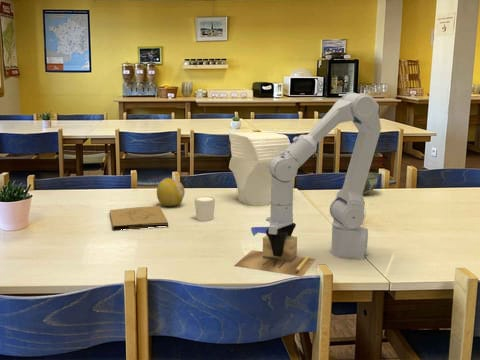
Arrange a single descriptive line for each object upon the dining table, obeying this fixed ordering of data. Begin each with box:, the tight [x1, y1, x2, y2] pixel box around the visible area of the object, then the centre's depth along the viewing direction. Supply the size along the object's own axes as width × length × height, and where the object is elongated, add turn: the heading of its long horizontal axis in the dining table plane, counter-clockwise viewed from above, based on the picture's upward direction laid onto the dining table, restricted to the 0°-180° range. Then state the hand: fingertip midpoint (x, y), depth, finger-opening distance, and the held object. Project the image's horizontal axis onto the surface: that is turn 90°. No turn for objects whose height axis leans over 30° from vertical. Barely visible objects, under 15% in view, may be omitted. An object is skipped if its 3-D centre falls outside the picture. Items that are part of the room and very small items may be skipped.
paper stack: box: [228, 131, 292, 206], centre depth 206 cm, size 21×27×26 cm
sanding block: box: [262, 234, 298, 262], centre depth 144 cm, size 8×4×6 cm, turn 68°
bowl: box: [344, 171, 380, 196], centre depth 221 cm, size 14×13×8 cm
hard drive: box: [250, 226, 269, 237], centre depth 167 cm, size 2×8×12 cm
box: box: [109, 205, 169, 232], centre depth 183 cm, size 21×18×2 cm
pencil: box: [295, 255, 311, 273], centre depth 139 cm, size 11×1×1 cm, turn 158°
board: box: [233, 249, 317, 277], centre depth 142 cm, size 18×13×1 cm
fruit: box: [156, 177, 185, 207], centre depth 201 cm, size 10×11×10 cm
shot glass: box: [194, 196, 216, 222], centre depth 184 cm, size 7×7×7 cm
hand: (280, 252), depth 145 cm, fingers closed on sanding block, 4 cm apart
